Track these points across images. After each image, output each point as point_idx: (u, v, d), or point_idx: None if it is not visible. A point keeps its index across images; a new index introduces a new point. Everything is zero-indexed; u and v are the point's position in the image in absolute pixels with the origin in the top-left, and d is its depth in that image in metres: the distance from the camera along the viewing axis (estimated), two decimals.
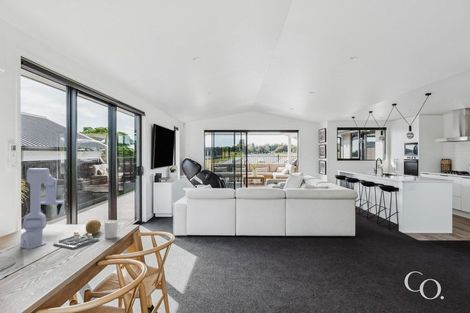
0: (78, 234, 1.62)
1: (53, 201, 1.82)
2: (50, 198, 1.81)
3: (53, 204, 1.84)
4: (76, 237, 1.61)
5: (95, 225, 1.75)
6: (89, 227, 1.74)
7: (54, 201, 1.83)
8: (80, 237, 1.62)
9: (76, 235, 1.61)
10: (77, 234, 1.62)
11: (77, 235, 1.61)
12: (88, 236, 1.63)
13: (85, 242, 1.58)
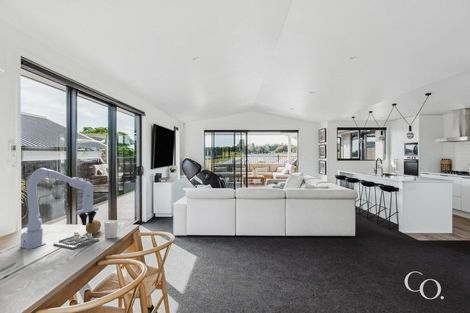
0: (78, 234, 1.62)
1: None
2: None
3: (85, 212, 1.67)
4: (76, 237, 1.61)
5: (95, 225, 1.75)
6: (89, 227, 1.74)
7: (82, 208, 1.67)
8: (80, 237, 1.62)
9: (76, 235, 1.61)
10: (77, 234, 1.62)
11: (77, 235, 1.61)
12: (88, 236, 1.63)
13: (85, 242, 1.58)
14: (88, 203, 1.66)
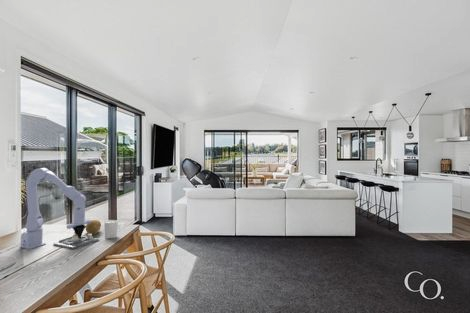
0: None
1: None
2: None
3: None
4: (75, 237, 1.60)
5: (95, 225, 1.75)
6: (89, 227, 1.74)
7: None
8: None
9: (75, 235, 1.60)
10: (76, 234, 1.61)
11: (76, 235, 1.60)
12: (88, 236, 1.63)
13: (85, 242, 1.58)
14: (79, 216, 1.60)
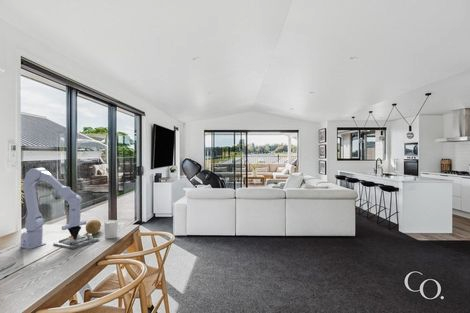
0: (72, 236, 1.58)
1: None
2: None
3: None
4: (70, 239, 1.57)
5: (95, 225, 1.75)
6: (89, 227, 1.74)
7: (69, 222, 1.58)
8: (74, 239, 1.59)
9: (70, 237, 1.57)
10: (71, 236, 1.58)
11: (71, 237, 1.57)
12: (88, 236, 1.63)
13: (85, 242, 1.58)
14: (75, 217, 1.58)
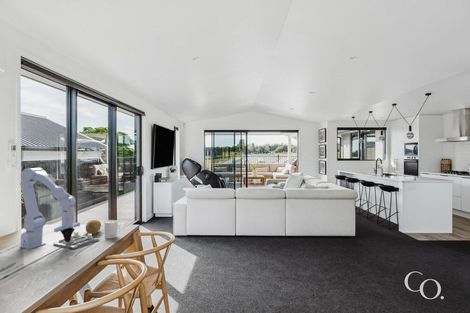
0: (72, 236, 1.58)
1: None
2: None
3: None
4: (70, 239, 1.57)
5: (95, 225, 1.75)
6: (89, 227, 1.74)
7: None
8: (74, 239, 1.59)
9: None
10: (71, 236, 1.58)
11: (71, 237, 1.57)
12: (88, 236, 1.63)
13: (85, 242, 1.58)
14: (68, 219, 1.53)
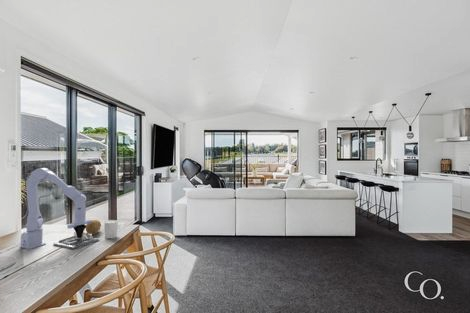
0: (84, 232, 1.65)
1: None
2: None
3: None
4: (82, 235, 1.64)
5: (95, 225, 1.75)
6: (89, 227, 1.74)
7: (74, 221, 1.62)
8: None
9: None
10: (83, 232, 1.65)
11: (83, 233, 1.65)
12: (88, 236, 1.63)
13: (85, 242, 1.58)
14: (80, 216, 1.61)
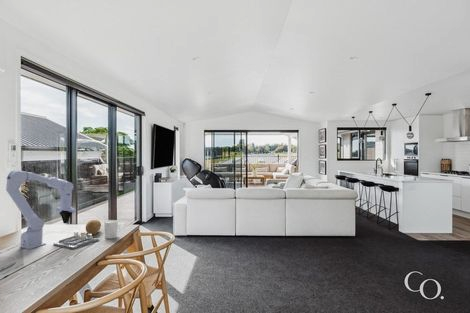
0: (84, 232, 1.65)
1: (64, 207, 1.65)
2: (62, 203, 1.65)
3: None
4: (82, 235, 1.64)
5: (95, 225, 1.75)
6: (89, 227, 1.74)
7: (66, 207, 1.65)
8: None
9: (82, 233, 1.64)
10: (83, 232, 1.65)
11: (83, 233, 1.65)
12: (88, 236, 1.63)
13: (85, 242, 1.58)
14: (71, 201, 1.69)
